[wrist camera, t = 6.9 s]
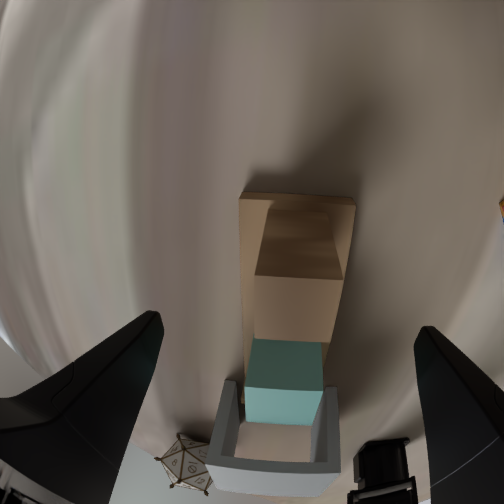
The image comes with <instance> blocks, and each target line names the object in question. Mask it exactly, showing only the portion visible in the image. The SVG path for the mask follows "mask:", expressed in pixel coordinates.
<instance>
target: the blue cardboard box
mask: <svg viewBox="0 0 504 504" xmlns="http://www.w3.org/2000/svg"><path fill="white" fill-rule="evenodd" d="M499 205H500V209H501V214H502V218H503V223H504V200H503V201H502V202H500V203H499Z"/></svg>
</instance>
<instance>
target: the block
mask: <svg viewBox="0 0 504 504" xmlns="http://www.w3.org/2000/svg"><path fill="white" fill-rule="evenodd" d="M244 389H245V410H246V421H248V422H259V423H271V424H287V425H312V423H313V421H314V418H315V415H316V412H317V409H318V406H319V403H320V400H321V397H322V394H323V368H322V350H321V342H303V341H285V340H269V339H256V338H254V335H253V341H252V346H251V352H250V358H249V363H248V369H247V375H246V380H245V386H244Z"/></svg>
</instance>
